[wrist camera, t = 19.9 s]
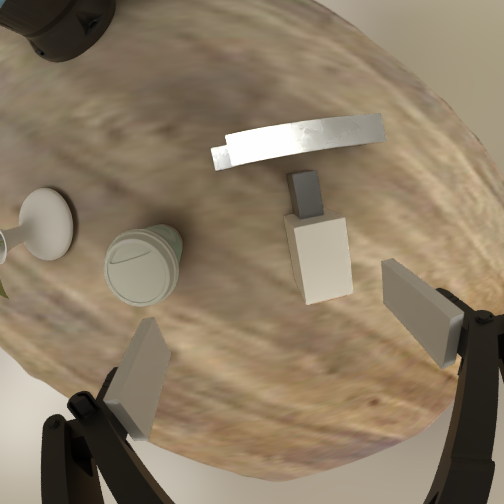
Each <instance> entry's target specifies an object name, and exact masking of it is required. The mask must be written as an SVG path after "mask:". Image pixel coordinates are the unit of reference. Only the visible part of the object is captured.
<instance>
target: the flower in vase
mask: <svg viewBox="0 0 504 504" xmlns="http://www.w3.org/2000/svg"><path fill="white" fill-rule="evenodd" d="M72 236H73V220H72V215H71V212H70V209H69V207H68V205H67V203H66V201H65V200H64V199H63V197H62V196H61V195H60V194H59V193H57V192H56V191H54V190H53V189H50V188H39V189H36V190H35V191H33V192H32V193H31V194H30V195H29V196H28V197H27V198H26V199H25V201H24V202H23V204H22V207H21V210H20V215H19V227H16V228H13V229H9V230H2V229H0V265H1V264H3V263H4V261H5V260H6V257H7V253H8V252H9V251H10V250H11V249H12V248H13V247H15V246H16V245H18V244H20V243H22V242H24V244H25V246H26V247H27V248H28V250H29V251H30V252H31V253H32V254H33V255H34V256H36V257H37V258H39V259H42V260H49V261H50V260H56V259H59V258H60V257H62V256H63V255H64V254H65V253H66V251H67V250H68V248H69V246H70V244H71V241H72ZM0 295H1V296H3V297H5V298H8V296H7V295H6V293H5V291H4V289H3V286H2V283H1V281H0ZM8 299H9V298H8Z"/></svg>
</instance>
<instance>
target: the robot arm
mask: <svg viewBox="0 0 504 504" xmlns="http://www.w3.org/2000/svg"><path fill="white" fill-rule="evenodd" d="M114 11H115V0H0V25H1V26H3V27H5V28H7V29H10V30H12V31H14V32H16V33H18V34H21V35H23V36H25V37H26V38H27V40H28V41H29V43H30V44H31V46H32V47H33V49H34V51H35V52H36V53H37V54H38V55H39V56H40V57H42V58H44V59H46V60H48V61H51V62H62V61H66V60H69V59H72V58H74V57H76V56H78V55H79V54H81V53H83V52H84V51H85V50H87V49H88V48H89V47H90V46H92V45H93V44H94V43H95V42H96V41H97V40H98V39H99V38H100V37H101V35H102V34H103V33H104V31H105V30H106V29H107V27H108V25H109V24H110V22H111V20H112V17H113V15H114ZM381 265H382V281H383V303H384V304H385V305H386V307H387V308H388V309H389V310H390V311H391V312H392V313H393V314H394V315H395V316H396V317H397V319H398V320H399V321H400V322H401V323H402V324H403V325H404V326H405V327H406V329H407V330H408V331H409V332H410V333H411V334H412V335H413V336H414V338H415V339H416V340H417V341H418V342H419V343H420V344H421V346H422V347H423V348H424V349H425V350H426V351H427V352H428V354H429V355H430V356H431V357H432V358H433V360H434V361H435V362H436V363H437V364H438V365H439V367H440V368H441V369H444V368H446V367H448V366H450V365H452V364H454V363H455V360H456V356H457V353H458V354H459V355H460V356H461V357H462V359H461V363H460V367H459V371H458V375H459V378H458V385H457V391H456V397H455V403H454V408H453V412H452V417H451V421H450V426H449V430H448V434H447V438H446V442H445V446H444V449H443V453H442V456H441V459H440V463H439V466H438V469H437V472H436V475H435V478H434V481H433V483H432V486H431V489H430V491H429V493H428V495H427V497H426V499H425V501H424V503H423V504H487V500H488V497H489V493H490V489H491V484H492V480H493V476H494V470H495V462H494V461H492V459H491V458H492V451H493V445H494V438H495V429H496V420H497V408H498V386H499V368H500V372H501V375H502V379H503V382H504V314H503V315H498V316H494V315H493V314H492V313H491V312H489V311H486V310H477V311H474V310H473V309H472V308H470V307H469V306H468V305H467V304H465V303H464V302H463V301H461V300H459V298H457V297H456V296H454V295H453V294H452V293H451V292H449V291H448V290H445V289H442V288H437V289H434V288H433V287H431V286H430V285H429V284H427V283H426V282H425V281H423V280H422V279H421V278H419V277H418V276H417V275H415V274H414V273H413V272H411V271H410V270H408V269H407V268H406V267H404V266H403V265H402V264H400V263H399V262H397V261H396V260H395V259H393V258H391V259H388V260H385V261H381ZM170 358H171V353H170V351H169V349H168V347H167V345H166V343H165V340H164V338H163V336H162V334H161V332H160V329H159V327H158V325H157V323H156V320H155V318H154V317H152V318H147V319H142V321H141V323H140V325H139V327H138V329H137V331H136V333H135V335H134V337H133V339H132V341H131V343H130V345H129V347H128V349H127V351H126V353H125V355H124V357H123V359H122V361H121V363H120V365H119V367H114V368H113V369H112V370H111V372H110V373H109V374H108V375H107V377H106V379H105V382H104V383H103V385H102V388H101V389H100V391H99V393H98V396H97V398H96V400H95V399H94V397H93V396H92V395H91V393H90V392H88V391H81V392H78V393H76V394H75V395H73V396H72V397H71V398H70V399H69V401H68V403H67V408H68V409H69V410H70V412H71V413H72V414H73V416H74V417H75V418H76V419H73V420H69V421H66V419H65V418H64V417H63V416H62V415H60V414H55V415H52V416H50V417H49V418H48V419H47V420H46V421H45V423H44V425H43V433H42V449H41V450H42V451H41V496H42V504H104V500H103V496H102V491H101V486H100V481H99V476H98V471H97V466H98V468H99V470H100V472H101V474H102V476H103V478H104V480H105V482H106V484H107V486H108V487H109V489H110V491H111V493H112V495H113V496H114V498H115V500H116V501H117V503H118V504H175V503H174V502H173V501H172V500H171V499H170V497H169V496H168V495H167V494H166V493H165V491H164V490H163V489H162V488H161V486H160V485H159V484H158V483H157V481H156V480H155V479H154V478H153V476H152V475H151V474H150V472H149V471H148V470H147V468H146V467H145V465H144V464H143V463H142V461H141V460H140V458H139V457H138V456H137V454H136V453H135V451H134V450H133V448H132V447H131V445H130V444H129V443H128V441H127V440H126V437H127V434H129V435H130V436H131V437H132V439H133V440H134V441H149V437H150V433H151V429H152V425H153V421H154V417H155V413H156V409H157V405H158V401H159V398H160V394H161V390H162V386H163V383H164V379H165V375H166V372H167V368H168V365H169V361H170ZM96 464H97V465H96Z"/></svg>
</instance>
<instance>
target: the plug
mask: <svg viewBox="0 0 504 504" xmlns="http://www.w3.org/2000/svg"><path fill="white" fill-rule="evenodd" d="M286 175H287V180H288V185H289V190H290V195H291V201H292V206H293V211H294V214H291V215H286V216H283V218H284V223H285V228H286V234H287V239H288V244H289V250H290V255H291V261H292V267H293V272H294V278H295V282H296V284H297V286H298V288H299V290H300V292H301V294H302V297H303V299H304V301H305V303H306V305H309V304H310V305H312V304H316V303H320V302H324V301H329V300H333V299H337V298H340V297H344V296H347V295H349V294H353V285H352V273H351V263H350V253H349V244H348V236H347V228H346V220H345V217H343V216H341V215H339V214H337V213H335V212H333V211H331V210H329V209H327V208H323V205H322V199H321V193H320V187H319V182H318V176H317V171H316V170H305V171H300V172H294V173H289V174H286Z"/></svg>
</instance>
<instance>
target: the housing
mask: <svg viewBox="0 0 504 504" xmlns="http://www.w3.org/2000/svg"><path fill="white" fill-rule="evenodd" d="M225 137H226V141H227V145H224V146H220V147H215V148H211V152H212V156H213V161H214V165H215V170H216V171H218V170H222V169H226V168H231V167H235V166H240V165H245V164H249V163H254V162H258V161H261V160H264V159H269V158H275V157H280V156H286V155H291V154H297V153H303V152H309V151H315V150H322V149H328V148H329V149H335V148H342V147H349V146H357V145H365V144H369V143H377V142H384V141H386V136H385V131H384V126H383V121H382V116H381V113H378V114H364V115H352V116H342V117H332V118H324V119H316V120H308V121H301V122H295V123H288V124H282V125H276V126H270V127H265V128H260V129H254V130H249V131H244V132H239V133H235V134H230V135H226V136H225Z"/></svg>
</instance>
